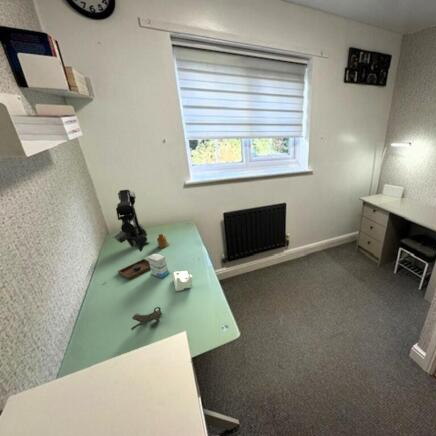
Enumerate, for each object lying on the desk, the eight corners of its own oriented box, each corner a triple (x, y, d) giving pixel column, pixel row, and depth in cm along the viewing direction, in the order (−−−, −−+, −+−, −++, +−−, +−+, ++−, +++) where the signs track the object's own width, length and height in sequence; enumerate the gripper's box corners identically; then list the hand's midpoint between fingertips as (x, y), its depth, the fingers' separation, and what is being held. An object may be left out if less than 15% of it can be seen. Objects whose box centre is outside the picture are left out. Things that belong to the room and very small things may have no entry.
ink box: (169, 273, 138) (165, 256, 133) (161, 278, 133) (157, 260, 129) (159, 269, 141) (154, 252, 136) (151, 274, 137) (146, 257, 132)
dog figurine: (163, 314, 109) (160, 302, 106) (163, 323, 105) (159, 311, 102) (133, 322, 105) (129, 310, 102) (131, 332, 100) (127, 319, 97)
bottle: (157, 246, 165) (154, 234, 161) (164, 243, 169) (162, 231, 166) (162, 248, 162) (159, 237, 159) (169, 245, 167) (166, 233, 163)
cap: (131, 270, 139) (130, 267, 138) (137, 266, 142) (136, 263, 141) (137, 272, 138) (136, 268, 137) (142, 268, 141) (141, 265, 140)
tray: (118, 273, 137) (117, 270, 136) (144, 261, 149) (144, 258, 148) (129, 280, 131) (128, 277, 131) (155, 266, 143) (154, 263, 143)
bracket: (190, 289, 127) (192, 277, 125) (176, 290, 123) (177, 278, 121) (186, 276, 137) (187, 264, 135) (172, 277, 133) (174, 265, 131)
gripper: (105, 226, 132) (113, 250, 138) (123, 235, 123) (131, 260, 129) (126, 219, 140) (133, 242, 147) (144, 227, 132) (150, 251, 138)
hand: (136, 248), depth 140 cm, fingers open, 9 cm apart
